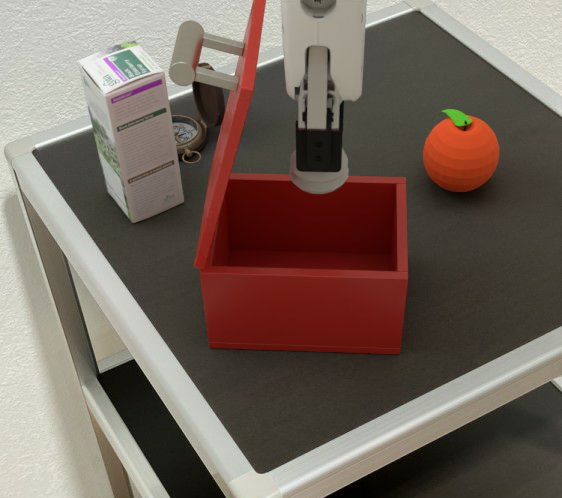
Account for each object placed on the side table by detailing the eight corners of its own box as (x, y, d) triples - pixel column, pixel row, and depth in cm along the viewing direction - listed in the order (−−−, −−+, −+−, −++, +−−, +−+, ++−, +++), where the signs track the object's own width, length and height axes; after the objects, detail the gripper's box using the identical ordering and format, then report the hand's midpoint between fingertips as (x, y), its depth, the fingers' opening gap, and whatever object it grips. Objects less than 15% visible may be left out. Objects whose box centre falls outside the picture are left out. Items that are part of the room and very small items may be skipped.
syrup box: (186, 202, 91) (169, 68, 79) (130, 226, 89) (104, 92, 78) (158, 170, 94) (137, 35, 83) (103, 192, 92) (74, 58, 81)
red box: (398, 254, 86) (406, 176, 79) (399, 355, 79) (408, 279, 72) (223, 249, 87) (216, 172, 80) (209, 348, 79) (199, 272, 73)
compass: (135, 135, 97) (124, 72, 92) (206, 111, 99) (200, 48, 94) (166, 180, 93) (156, 117, 87) (240, 154, 95) (235, 91, 89)
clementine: (400, 166, 93) (406, 104, 88) (462, 145, 95) (471, 83, 89) (444, 216, 89) (452, 154, 83) (508, 193, 90) (520, 131, 85)
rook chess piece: (308, 204, 70) (307, 112, 64) (278, 170, 73) (275, 78, 66) (360, 183, 71) (365, 91, 65) (329, 151, 74) (330, 59, 68)
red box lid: (267, -10, 67) (191, -31, 66) (253, 91, 60) (167, 68, 59) (220, 169, 80) (155, 153, 79) (204, 269, 72) (132, 253, 71)
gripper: (387, -30, 50) (370, 230, 65) (387, -167, 61) (372, 84, 75) (244, -32, 51) (259, 227, 65) (268, -167, 61) (276, 82, 76)
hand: (320, 148), depth 70 cm, fingers closed on rook chess piece, 3 cm apart
